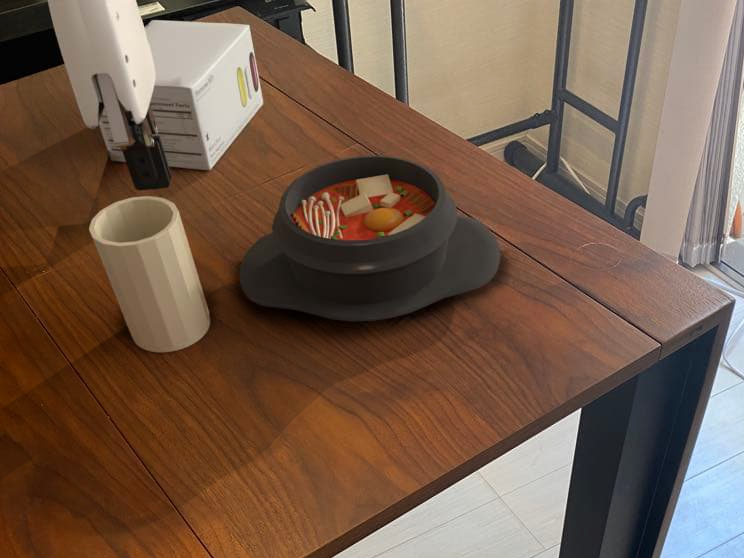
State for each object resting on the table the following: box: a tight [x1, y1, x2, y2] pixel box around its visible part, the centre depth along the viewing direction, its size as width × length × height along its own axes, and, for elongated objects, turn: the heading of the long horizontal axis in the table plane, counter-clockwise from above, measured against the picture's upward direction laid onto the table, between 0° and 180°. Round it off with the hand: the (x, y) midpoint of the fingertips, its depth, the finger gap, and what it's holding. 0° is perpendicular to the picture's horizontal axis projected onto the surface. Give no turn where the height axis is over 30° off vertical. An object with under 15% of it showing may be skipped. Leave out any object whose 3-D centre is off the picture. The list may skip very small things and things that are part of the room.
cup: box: [88, 195, 211, 353], centre depth 74 cm, size 7×7×11 cm
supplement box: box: [98, 19, 264, 171], centre depth 98 cm, size 17×13×9 cm
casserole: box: [238, 155, 501, 322], centre depth 78 cm, size 25×19×8 cm
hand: (154, 184), depth 77 cm, fingers closed
